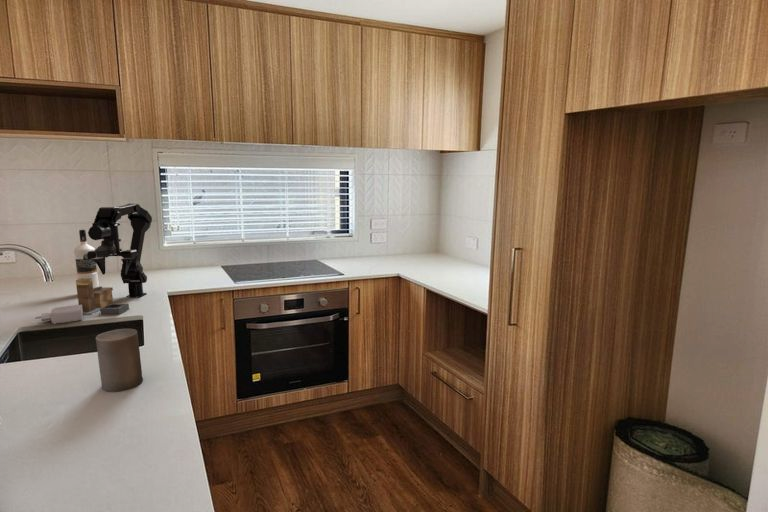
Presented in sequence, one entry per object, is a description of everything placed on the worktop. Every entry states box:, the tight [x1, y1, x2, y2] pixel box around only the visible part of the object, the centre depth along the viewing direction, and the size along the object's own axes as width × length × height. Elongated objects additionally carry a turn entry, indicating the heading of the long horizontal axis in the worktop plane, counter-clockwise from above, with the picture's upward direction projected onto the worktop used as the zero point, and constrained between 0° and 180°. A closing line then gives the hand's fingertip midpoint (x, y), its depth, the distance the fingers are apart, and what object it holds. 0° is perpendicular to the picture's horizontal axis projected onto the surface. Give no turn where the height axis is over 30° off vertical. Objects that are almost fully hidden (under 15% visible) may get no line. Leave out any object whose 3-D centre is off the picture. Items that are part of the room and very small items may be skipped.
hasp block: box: [99, 303, 130, 316], centre depth 197 cm, size 7×7×2 cm
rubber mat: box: [83, 308, 100, 315], centre depth 198 cm, size 8×8×1 cm
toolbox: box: [93, 285, 114, 308], centre depth 207 cm, size 10×8×8 cm
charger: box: [34, 304, 84, 324], centre depth 186 cm, size 5×9×15 cm
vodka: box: [73, 229, 100, 288], centre depth 225 cm, size 9×9×30 cm
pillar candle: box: [95, 328, 144, 393], centre depth 128 cm, size 10×10×15 cm
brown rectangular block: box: [75, 278, 95, 312], centre depth 197 cm, size 4×4×13 cm
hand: (114, 274), depth 206 cm, fingers open, 9 cm apart
